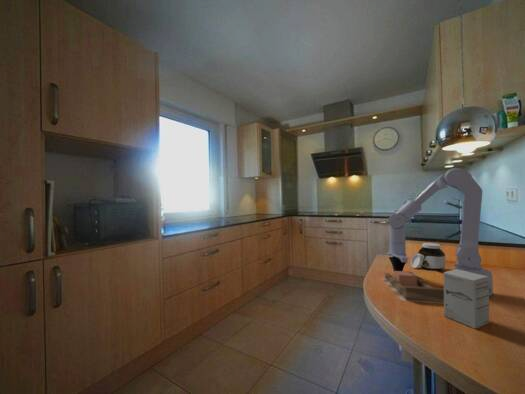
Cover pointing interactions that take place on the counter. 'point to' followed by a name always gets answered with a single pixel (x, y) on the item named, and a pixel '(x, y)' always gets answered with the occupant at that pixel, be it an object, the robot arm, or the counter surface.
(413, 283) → the block
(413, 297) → the channel
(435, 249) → the spread jar
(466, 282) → the supplement box
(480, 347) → the counter surface
